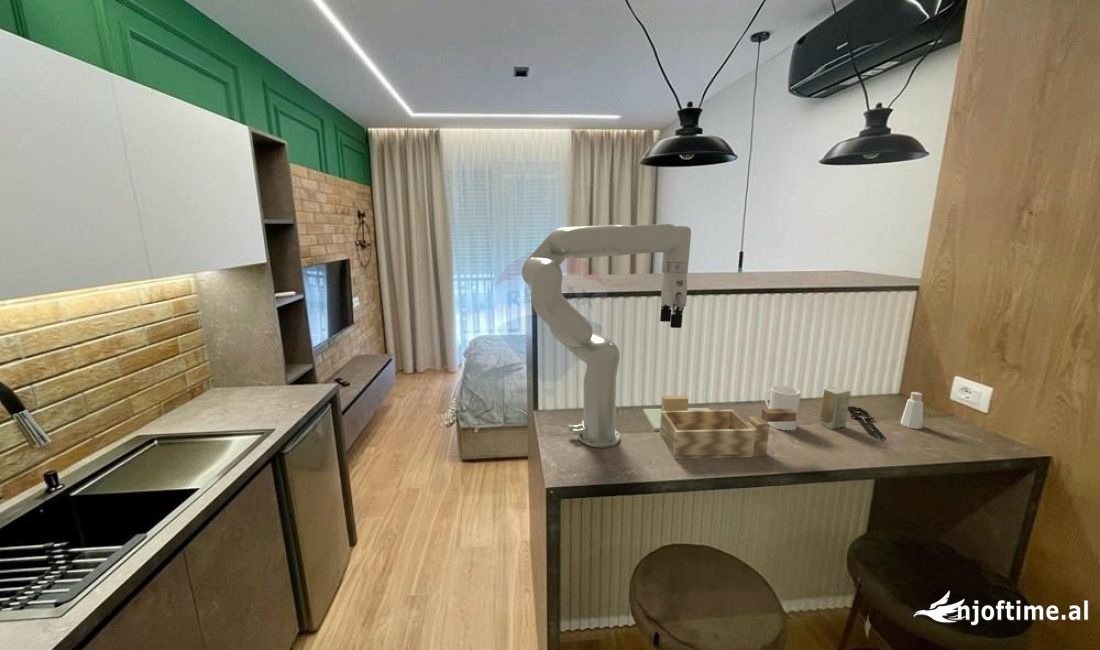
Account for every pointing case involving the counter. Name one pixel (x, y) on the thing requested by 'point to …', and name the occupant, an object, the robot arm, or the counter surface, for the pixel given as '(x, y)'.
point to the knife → (866, 421)
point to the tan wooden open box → (713, 434)
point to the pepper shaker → (913, 412)
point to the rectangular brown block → (778, 415)
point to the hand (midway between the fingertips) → (670, 324)
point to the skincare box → (834, 407)
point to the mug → (783, 404)
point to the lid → (668, 409)
